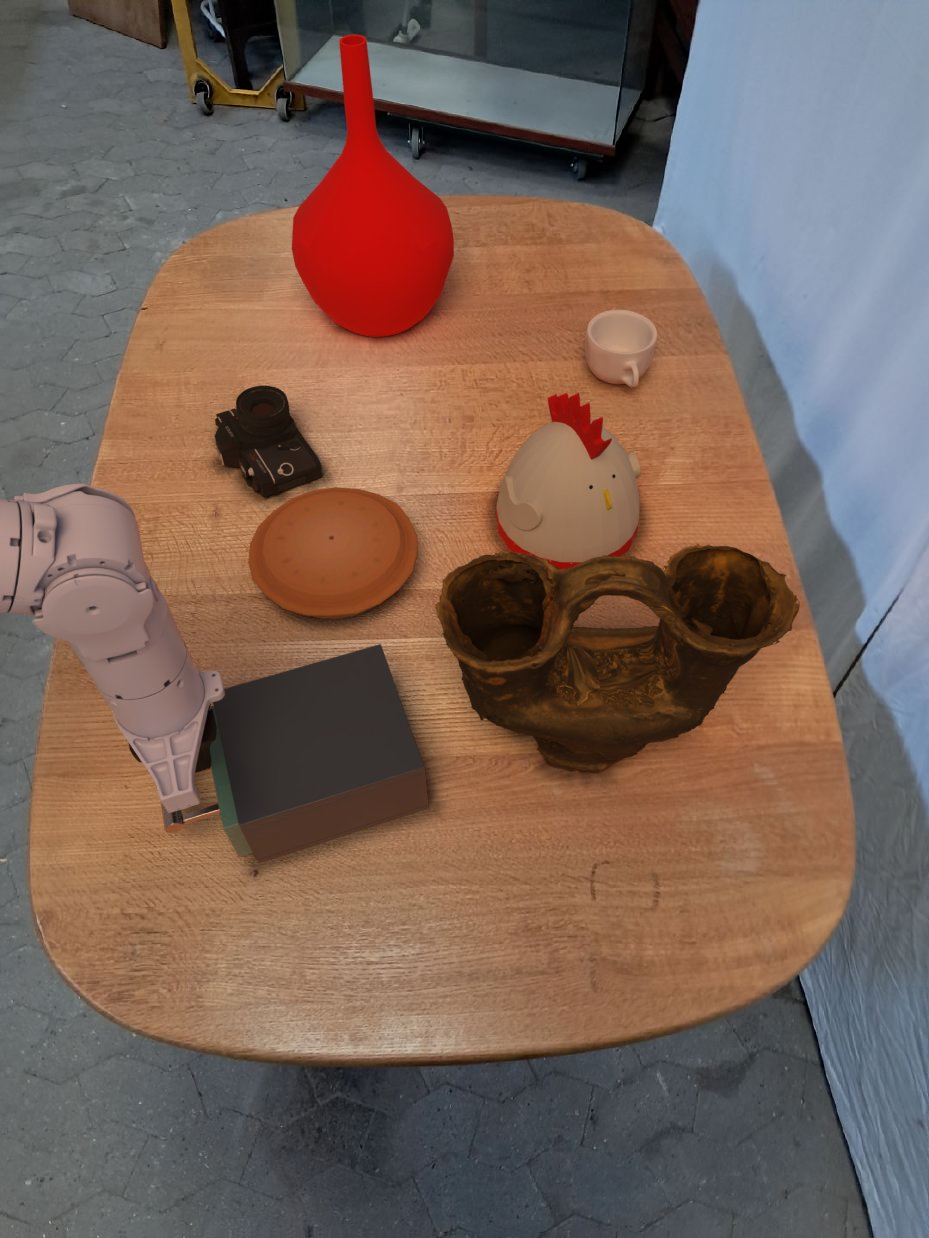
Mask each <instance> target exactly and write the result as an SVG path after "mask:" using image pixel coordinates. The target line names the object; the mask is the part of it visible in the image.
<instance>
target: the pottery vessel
mask: <svg viewBox="0 0 929 1238" xmlns="http://www.w3.org/2000/svg"><path fill="white" fill-rule="evenodd" d="M666 562H667V565H663V566H662V568H661V567H660V566H659V565H658V564H657V565H656V564H655V562H654V561H653V560H649V559H648V560H647V559H642V558H641V559H640V558H637V557H636V556H632V555H622V556H605V555H604V556H601V557H595V558H592V559H589V560H586V561H584V562H582V563H580V564H578V565H576V566H574V567H571V568H567V569H561V570H560V569H559V568H557V567H556V566H554V565H552V564H551V563H550V562H549V563H548V561H547V560H546V559H542V558H538V557H535V556H531V555H528V554H523V553H516V552H512V551H507V550H501V551H500V552H495V553H494V554H482V555H479V556H478V557H476V558H473V559H472V560H470V561H469V562H468V563H467V564H464V565H460V566H459V565H458V566H457V567H456V568H455V569H453V570H452V571H450V572H448V573H447V574H446V576H444V578H443V579H442V580H441V582H442V587H441V594H440V596H439V601H438V602H437V603H435V604H434V607H435V610H436V615H437V618H438V620H439V622H440V624H441V628H442V633H441V634H442V636H443V638H444V641H445V645H446V646H447V648H449V650H450V652H451V653H452V654H453V656H454V657H455V658H456V661H458V662H457V663H458V666H459V669H460V670H461V681H462V684H463V687H464V689H465V691H466V694H467V696H468V699H469V702H470V705H471V709H472V710H473V711H474V712H476V714H477V715H478V717H479V719H480V721H484V719H485V720H487V721H488V722H490V723H492V724H494V725H496V726H497V727H501V728H503V729H504V730H509V731H511V732H514V733H518V734H522V735H526V736H531V737H532V738H534V740H535V741H536V743H537V746H538V747H537V749H536V750H537V751H538V752H539V753H540V755H542V757H543V758H544V760H545V762H546V763H547V764H548V765H549V766H551V767H553V768H556V769H564V770H566V771H570V772H574V771H575V770H577V771H578V772H579V773H593V774H594V773H595V774H597V773H598V774H599V773H603V772H604V771H606V770H607V769H608V768H610V767H611V766H614V765H615V764H617V763H619V762H621V761H622V760H624V759H627V758H632V757H634V756H635V755H638V753H639V752H640V751H642V750H643V749H644V748H646V746H647V745H648V744H650V743H662V742H665V741H668V740H673V739H677V738H679V736H680V735H682V734H686V733H689V732H691V731H692V730H694V729H696V728H697V727H700V726H701V725H702V724H703V723H704V719H705V718H706V717H707V716H709V714H710V712H711V711H713V710H716V708H715V707H716V704H717V702H718V701H719V699H720V697H722V695H724V694H725V692H726V691H727V687H728V686H729V684H730V682H731V681H732V680H733V679H734V677H735V676H736V674H737V672H738V670H739V669H740V667H742V666H744V665H745V664H747V663H748V662H750V661H751V660H752V659H753V658H755V656H756V655H757V654H758V653H759V652H760V650H761V649H763V648H767V647H770V646H773V645H776V644H779V643H780V642H781V640H780V639H782V638H783V637H784V636H785V635H786V634H787V633H788V632H791V631H792V629H793V623H794V621H795V618H796V617H797V616H798V613H799V611H800V604H801V603H800V600H799V598H798V597H797V595H796V594H794V592H793V591H792V590H791V589H790V588H789V586H788V585H787V582H786V576H787V574H784V573H779V572H778V571H777V570H776V569H775V568H774V567H773V566H772V565H771V564H770V562H768V561H766V560H765V561H764V560H762V559H760V558H757V557H756V556H754V555H753V554H751V553H748V552H745V551H742V550H741V549H739V548H738V547H734V546H729V545H710V544H706V545H700V543H698V544H695V545H689V546H685V547H682V548H681V549H680V550H679V551H677V552H676V553H673V554H672V555H670V556H669V559H667V560H666ZM603 596H613V597H615V596H617V597H620V596H621V597H627V598H630V599H631V600H635V601H637V602H640V603H642V604H643V605H645V606H646V607H647V608H649V609H650V611H652V612H653V614H654V615H655V616H656V617H657V618H659V620H658V625H650V626H641V627H628V628H627V627H624V628H623V627H621V628H619V627H616V628H612V627H608V628H604V627H587V626H586V627H585V626H574V625H575V623H576V622H577V621H578V619H579V617H580V615H581V614H582V613H584V612H586V611H587V610H589V608H591V607H592V606H593V605H594V604H595V602H596V601H597V600H598V599H599V598H601V597H603ZM797 601H798V602H797Z"/></svg>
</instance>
